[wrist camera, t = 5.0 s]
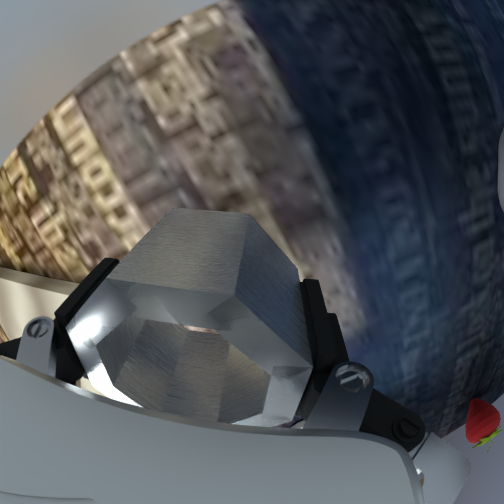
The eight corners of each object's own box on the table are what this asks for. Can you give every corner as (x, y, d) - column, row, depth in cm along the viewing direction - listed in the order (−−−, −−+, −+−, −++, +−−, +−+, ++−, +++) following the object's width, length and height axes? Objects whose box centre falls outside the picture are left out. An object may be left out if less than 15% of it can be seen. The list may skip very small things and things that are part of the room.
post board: (126, 291, 17) (84, 362, 11) (160, 408, 25) (147, 459, 19) (-15, 263, 17) (-53, 299, 11) (38, 368, 25) (17, 404, 19)
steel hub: (305, 219, 10) (333, 303, 5) (280, 354, 13) (281, 443, 9) (124, 205, 10) (44, 266, 6) (144, 336, 13) (109, 413, 9)
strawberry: (454, 416, 28) (470, 464, 20) (457, 400, 25) (478, 455, 17) (483, 398, 27) (502, 444, 18) (490, 379, 24) (514, 431, 15)
